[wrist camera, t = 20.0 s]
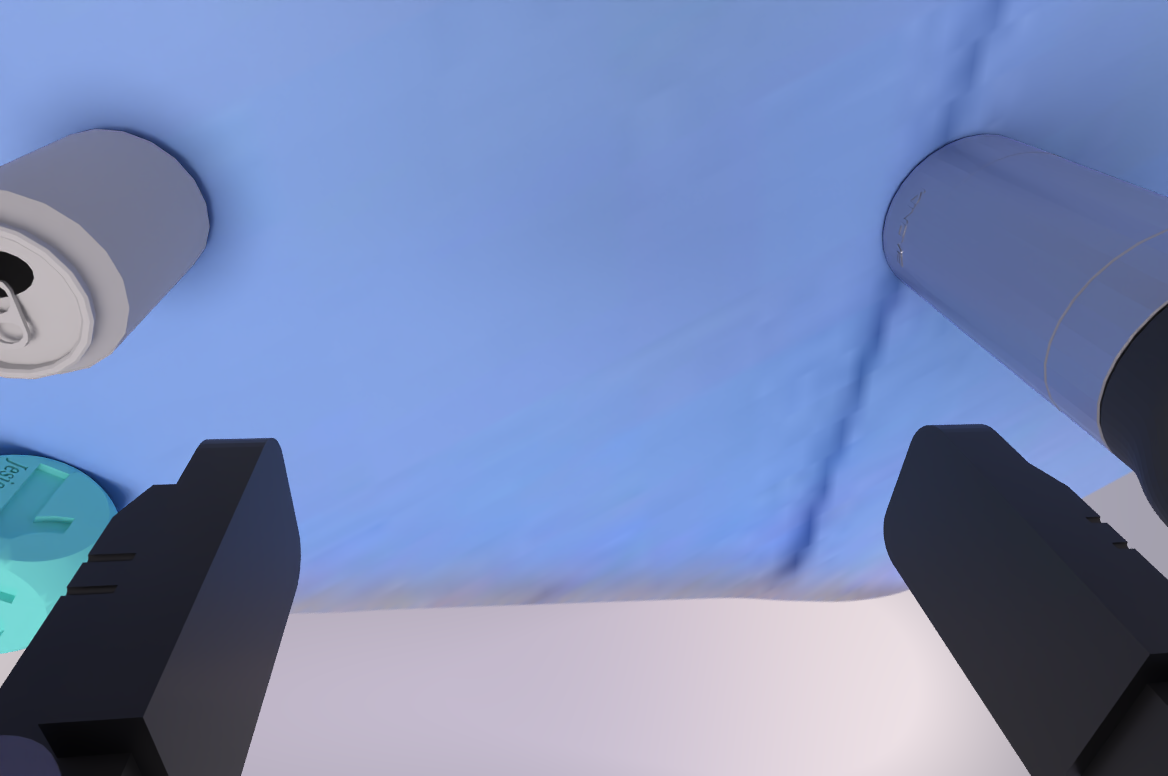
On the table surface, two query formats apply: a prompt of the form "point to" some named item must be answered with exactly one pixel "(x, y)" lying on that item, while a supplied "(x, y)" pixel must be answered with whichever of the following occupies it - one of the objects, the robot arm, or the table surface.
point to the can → (89, 247)
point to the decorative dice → (43, 539)
